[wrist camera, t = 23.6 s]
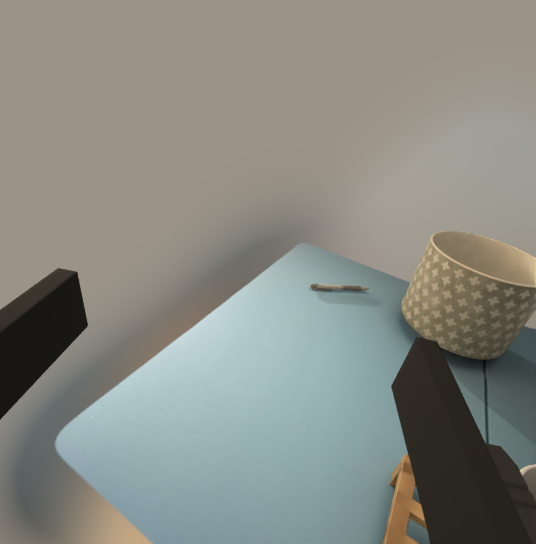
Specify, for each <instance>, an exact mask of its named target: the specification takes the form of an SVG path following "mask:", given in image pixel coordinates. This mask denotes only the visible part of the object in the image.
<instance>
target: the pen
mask: <svg viewBox="0 0 536 544" xmlns="http://www.w3.org/2000/svg"><path fill="white" fill-rule="evenodd" d="M309 287H311V288H312V289H314V290H318V291H330V290H333V289H339V290H354V291H365V290H368V288H366V287H361V286H345V285H324V284H311V285H309ZM320 289H325V290H320Z"/></svg>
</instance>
